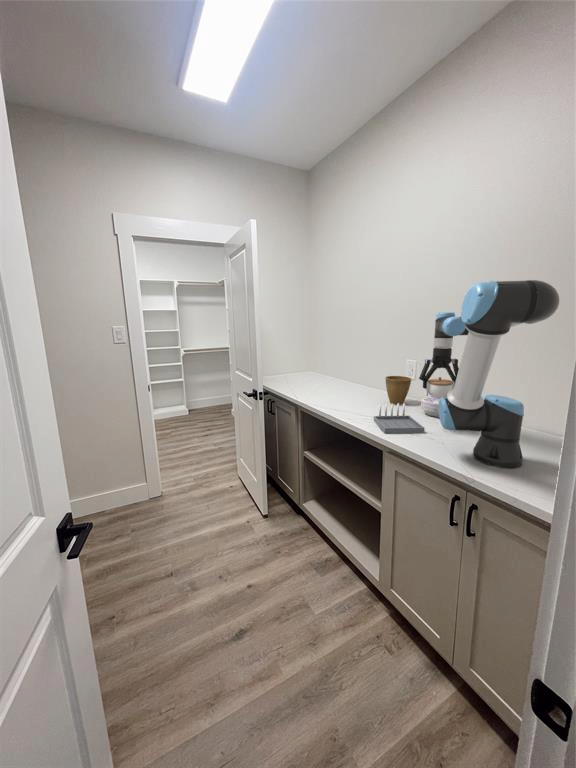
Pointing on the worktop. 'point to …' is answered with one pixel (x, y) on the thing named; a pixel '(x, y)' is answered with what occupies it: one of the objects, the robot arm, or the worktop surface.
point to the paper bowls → (430, 406)
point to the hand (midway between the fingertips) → (438, 395)
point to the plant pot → (397, 388)
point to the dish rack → (397, 422)
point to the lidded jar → (439, 387)
